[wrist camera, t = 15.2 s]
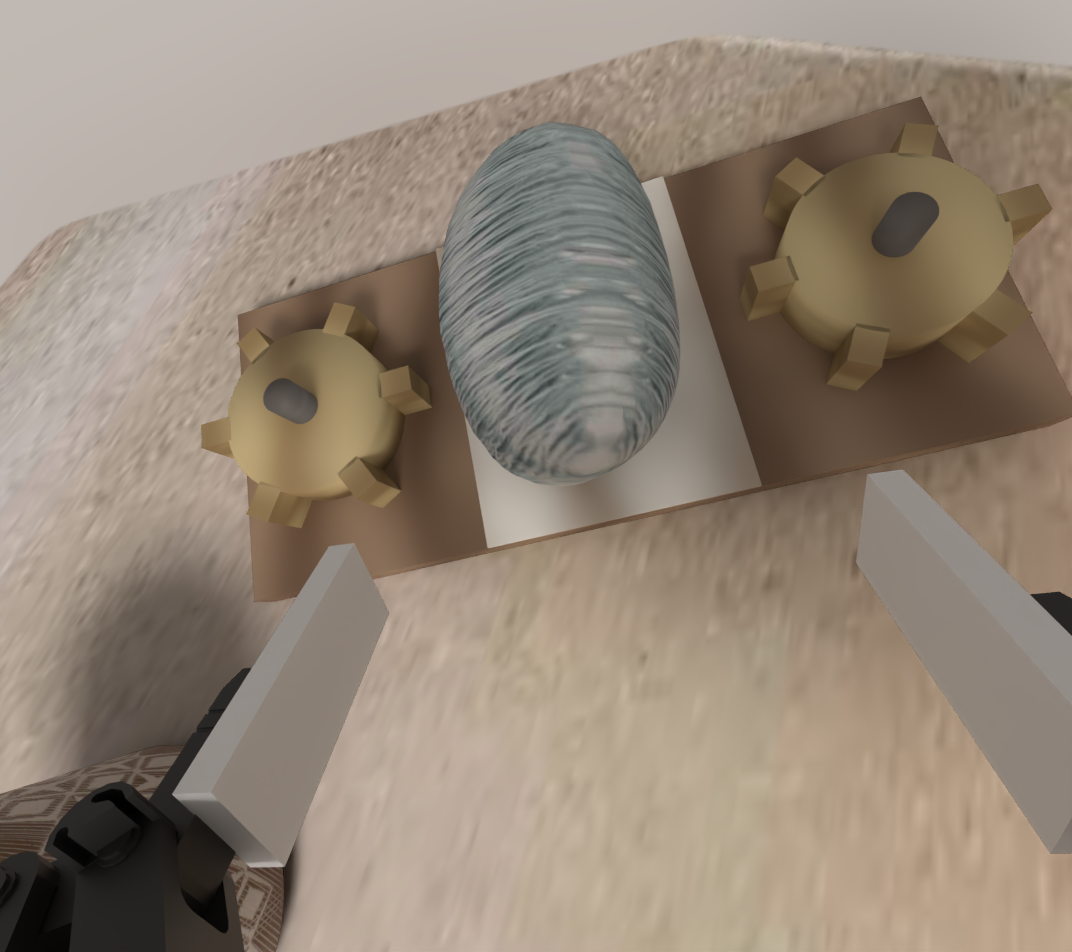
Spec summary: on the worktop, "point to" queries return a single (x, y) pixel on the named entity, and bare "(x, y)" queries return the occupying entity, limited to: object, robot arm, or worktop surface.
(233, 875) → the planter
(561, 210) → the grey streaked egg
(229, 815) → the robot arm
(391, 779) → the worktop surface
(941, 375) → the gear board
